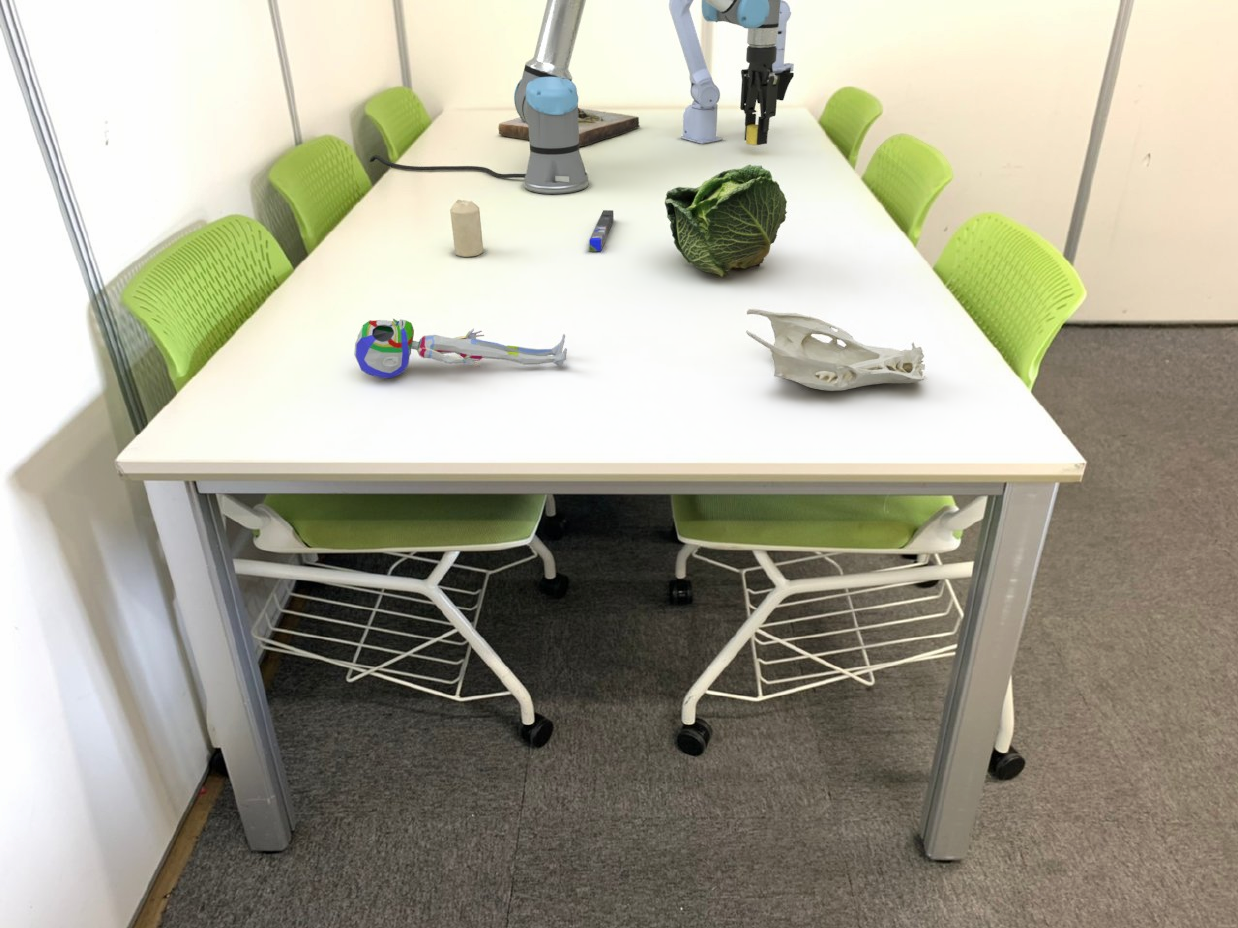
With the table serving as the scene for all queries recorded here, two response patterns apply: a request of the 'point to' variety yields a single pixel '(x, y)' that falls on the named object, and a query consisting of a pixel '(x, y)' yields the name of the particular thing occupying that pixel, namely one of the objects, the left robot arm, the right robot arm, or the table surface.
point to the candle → (466, 228)
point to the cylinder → (752, 134)
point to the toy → (435, 349)
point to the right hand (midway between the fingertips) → (770, 101)
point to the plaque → (581, 126)
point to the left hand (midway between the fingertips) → (755, 141)
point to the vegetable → (727, 219)
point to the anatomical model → (834, 356)
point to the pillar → (601, 230)
